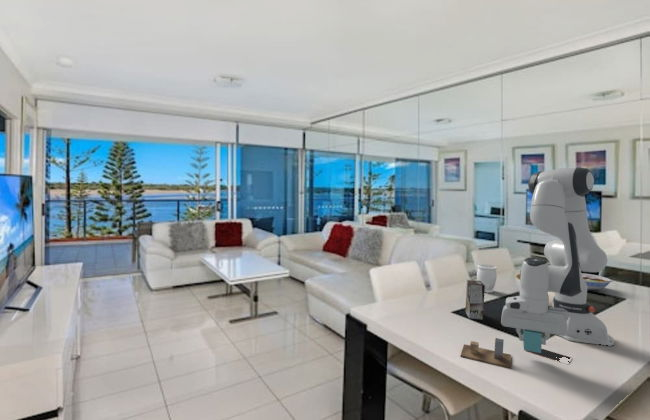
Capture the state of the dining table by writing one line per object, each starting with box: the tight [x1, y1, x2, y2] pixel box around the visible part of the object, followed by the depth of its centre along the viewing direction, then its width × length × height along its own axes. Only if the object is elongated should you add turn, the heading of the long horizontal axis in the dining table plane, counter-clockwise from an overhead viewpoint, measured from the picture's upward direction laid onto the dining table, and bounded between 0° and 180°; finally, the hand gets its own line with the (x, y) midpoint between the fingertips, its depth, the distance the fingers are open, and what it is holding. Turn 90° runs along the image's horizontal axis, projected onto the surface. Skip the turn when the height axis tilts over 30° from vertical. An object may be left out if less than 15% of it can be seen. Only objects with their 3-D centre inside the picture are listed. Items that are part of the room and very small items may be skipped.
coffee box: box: [465, 279, 485, 320], centre depth 166 cm, size 9×6×16 cm
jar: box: [476, 263, 498, 294], centre depth 208 cm, size 11×10×15 cm
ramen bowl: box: [581, 272, 612, 291], centre depth 219 cm, size 25×23×8 cm
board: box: [460, 340, 512, 370], centre depth 126 cm, size 16×10×4 cm, turn 62°
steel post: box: [494, 337, 505, 360], centre depth 124 cm, size 3×3×7 cm
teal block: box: [522, 329, 543, 353], centre depth 124 cm, size 5×5×7 cm
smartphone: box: [524, 347, 572, 363], centre depth 129 cm, size 7×1×14 cm
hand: (532, 342), depth 125 cm, fingers closed on teal block, 5 cm apart
